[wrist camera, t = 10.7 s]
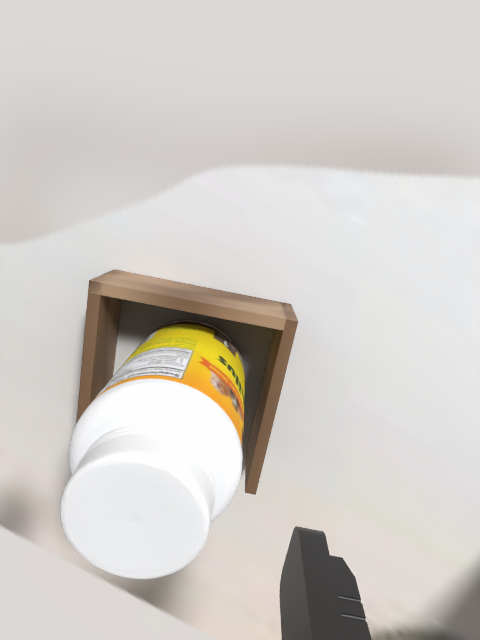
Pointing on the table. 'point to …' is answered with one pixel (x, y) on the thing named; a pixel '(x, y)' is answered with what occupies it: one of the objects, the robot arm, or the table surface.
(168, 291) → the walnut u rest
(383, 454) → the table surface
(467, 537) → the table surface
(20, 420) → the table surface
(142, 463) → the supplement bottle
